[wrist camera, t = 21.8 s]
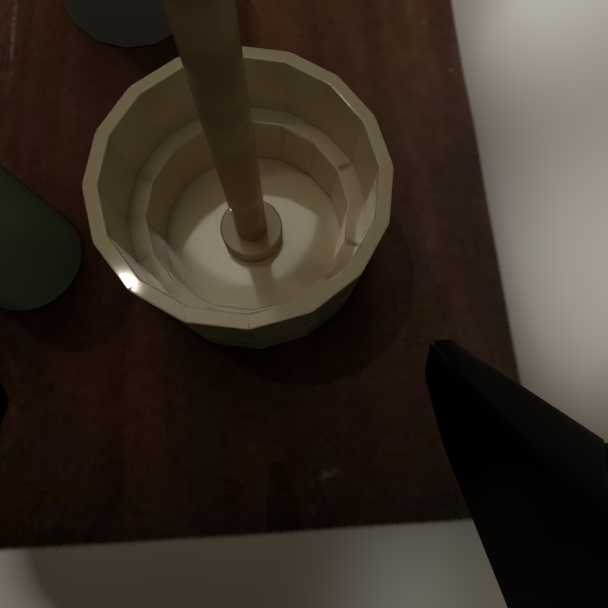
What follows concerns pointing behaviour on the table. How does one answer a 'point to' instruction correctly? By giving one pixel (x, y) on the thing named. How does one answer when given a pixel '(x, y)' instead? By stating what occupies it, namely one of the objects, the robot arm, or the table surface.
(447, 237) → the table surface
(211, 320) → the mixing bowl
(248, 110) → the stirring stick
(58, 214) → the green cylinder pedestal
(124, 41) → the cup
